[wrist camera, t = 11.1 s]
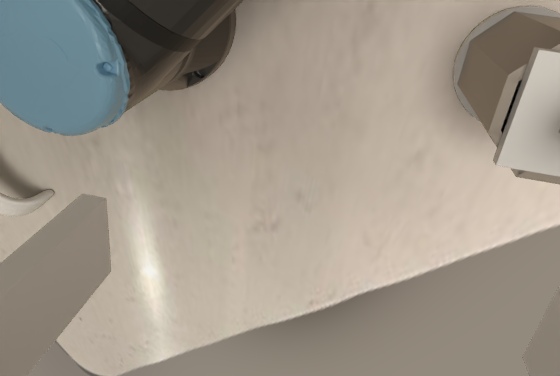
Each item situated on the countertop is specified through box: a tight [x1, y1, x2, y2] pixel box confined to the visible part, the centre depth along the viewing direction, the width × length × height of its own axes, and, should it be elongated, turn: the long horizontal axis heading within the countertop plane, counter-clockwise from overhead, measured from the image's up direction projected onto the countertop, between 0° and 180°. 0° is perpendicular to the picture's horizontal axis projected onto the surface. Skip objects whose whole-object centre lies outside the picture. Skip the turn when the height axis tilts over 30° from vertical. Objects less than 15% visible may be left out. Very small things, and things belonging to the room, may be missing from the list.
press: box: [453, 6, 560, 184], centre depth 39 cm, size 14×12×16 cm
